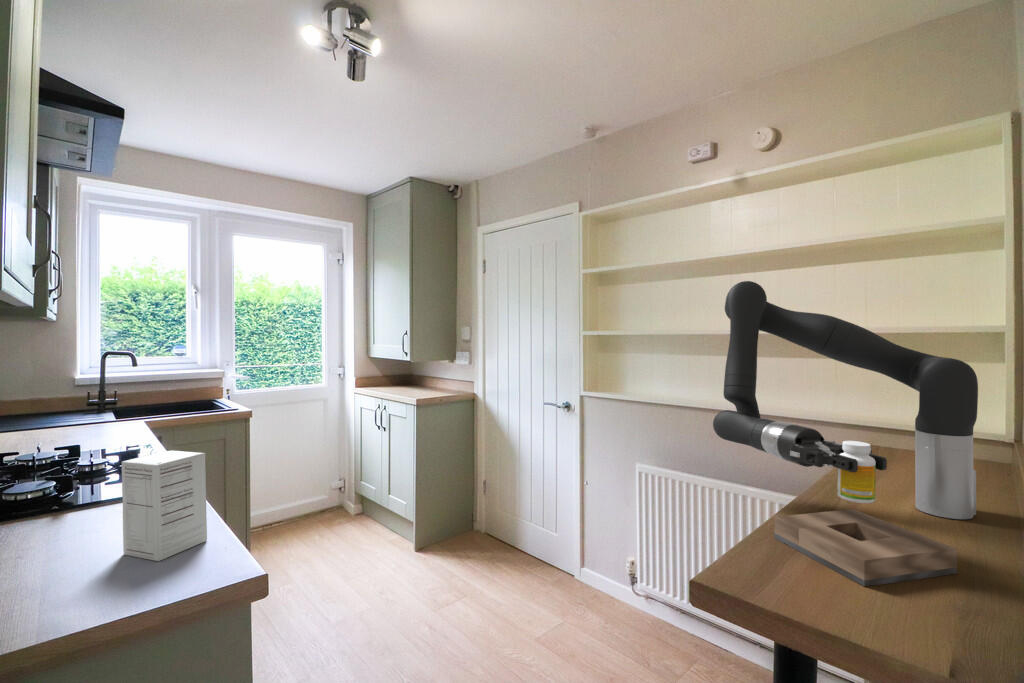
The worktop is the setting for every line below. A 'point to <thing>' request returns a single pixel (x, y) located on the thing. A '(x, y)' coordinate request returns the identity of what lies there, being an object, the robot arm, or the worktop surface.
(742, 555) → the worktop surface
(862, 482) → the supplement bottle
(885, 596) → the worktop surface
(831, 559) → the socket block
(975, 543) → the worktop surface
